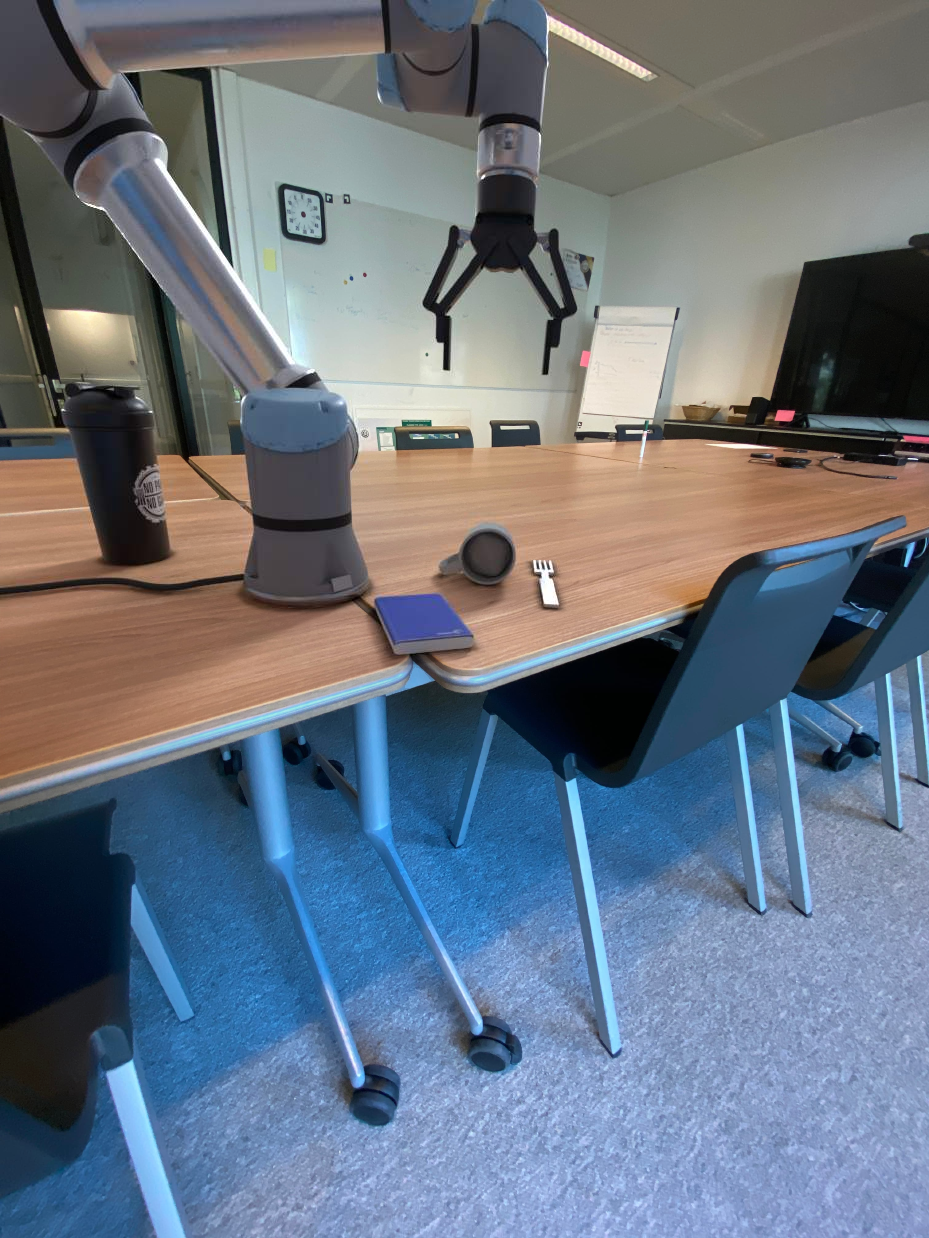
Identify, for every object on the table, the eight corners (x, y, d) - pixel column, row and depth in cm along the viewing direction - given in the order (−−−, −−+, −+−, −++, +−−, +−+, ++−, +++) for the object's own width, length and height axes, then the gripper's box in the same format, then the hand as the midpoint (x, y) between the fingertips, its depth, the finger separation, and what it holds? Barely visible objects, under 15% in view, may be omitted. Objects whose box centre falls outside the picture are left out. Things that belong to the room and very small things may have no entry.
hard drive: (474, 633, 54) (441, 592, 64) (394, 640, 51) (373, 596, 62) (473, 647, 54) (441, 604, 65) (394, 655, 52) (374, 609, 63)
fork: (539, 607, 66) (540, 603, 65) (532, 562, 83) (532, 559, 83) (562, 608, 65) (562, 604, 65) (550, 563, 83) (550, 560, 83)
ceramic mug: (511, 568, 79) (514, 517, 76) (514, 586, 72) (517, 530, 69) (441, 565, 80) (441, 514, 77) (436, 583, 72) (436, 527, 69)
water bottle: (154, 568, 72) (118, 384, 63) (79, 565, 72) (32, 380, 63) (190, 548, 82) (163, 386, 73) (124, 545, 82) (89, 382, 73)
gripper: (400, 167, 62) (401, 367, 71) (615, 173, 61) (590, 375, 69) (411, 190, 69) (410, 369, 78) (604, 195, 68) (582, 377, 76)
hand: (495, 372), depth 73 cm, fingers open, 13 cm apart
